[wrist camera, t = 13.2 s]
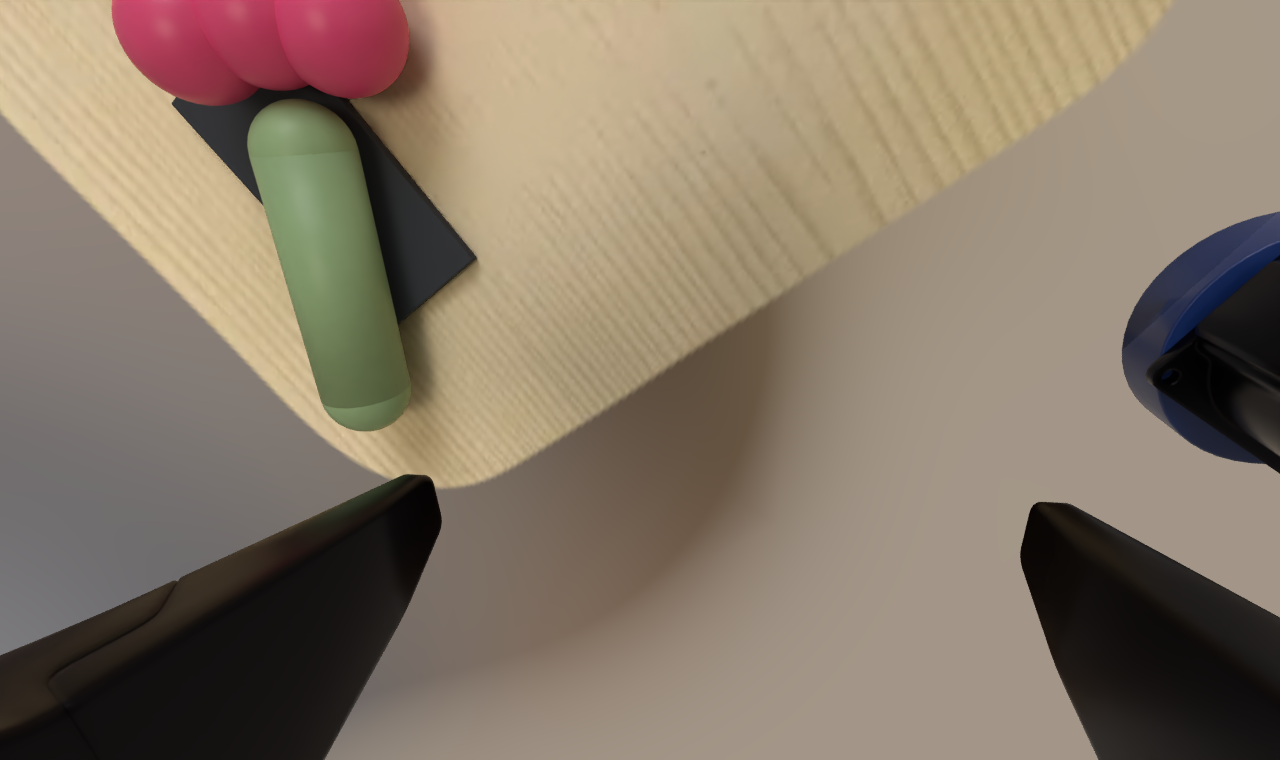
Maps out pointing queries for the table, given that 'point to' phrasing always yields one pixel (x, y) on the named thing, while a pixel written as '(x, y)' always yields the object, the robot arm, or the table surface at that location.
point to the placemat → (403, 215)
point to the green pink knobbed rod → (300, 163)
